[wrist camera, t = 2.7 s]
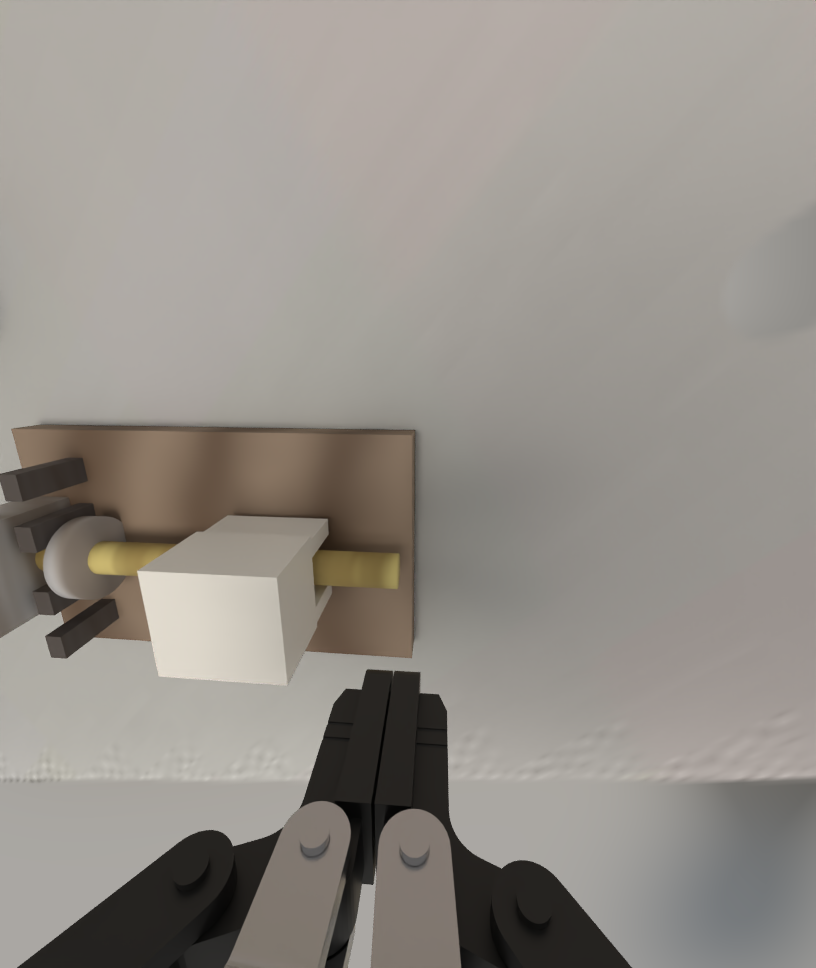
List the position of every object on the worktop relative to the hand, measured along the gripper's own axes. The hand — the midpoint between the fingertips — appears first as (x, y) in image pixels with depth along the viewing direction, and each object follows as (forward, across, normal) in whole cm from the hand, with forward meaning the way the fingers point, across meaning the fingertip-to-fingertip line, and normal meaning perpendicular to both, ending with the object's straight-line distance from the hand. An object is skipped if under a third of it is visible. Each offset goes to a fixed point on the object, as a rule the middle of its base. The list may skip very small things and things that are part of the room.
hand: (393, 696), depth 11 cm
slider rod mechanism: (+11, +10, 0) cm, 15 cm away
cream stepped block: (+9, +7, 0) cm, 11 cm away
